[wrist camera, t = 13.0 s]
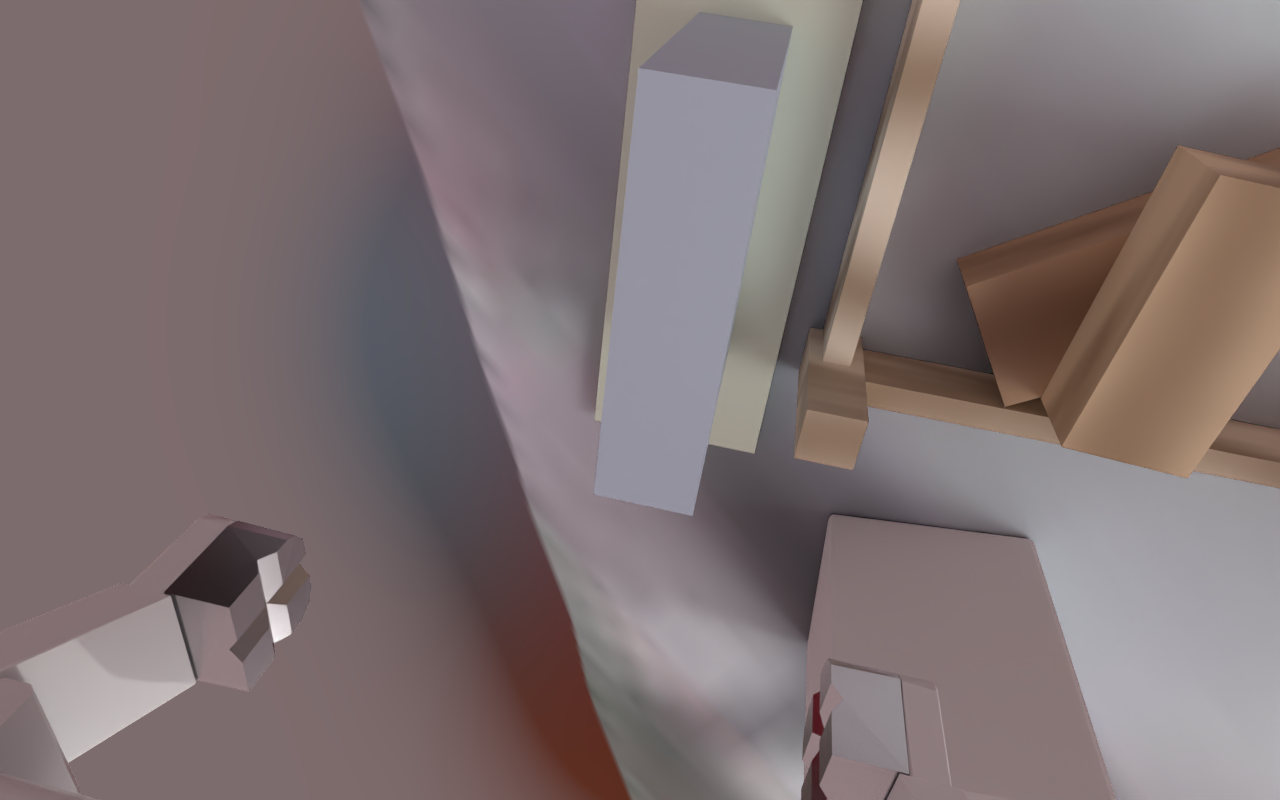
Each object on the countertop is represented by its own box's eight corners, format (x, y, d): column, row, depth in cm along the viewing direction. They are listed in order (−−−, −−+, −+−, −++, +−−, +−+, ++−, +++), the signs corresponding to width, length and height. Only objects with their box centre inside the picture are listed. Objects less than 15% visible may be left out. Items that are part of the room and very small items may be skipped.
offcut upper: (1319, 176, 23) (1379, 210, 21) (1155, 426, 28) (1187, 478, 26) (1178, 145, 23) (1220, 174, 21) (1040, 398, 28) (1061, 446, 26)
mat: (755, 445, 35) (754, 453, 34) (597, 412, 35) (594, 420, 35) (875, -58, 24) (876, -57, 24) (649, -90, 25) (645, -90, 24)
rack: (1354, 480, 30) (1459, 596, 25) (798, 371, 32) (794, 458, 27) (1959, -303, 18) (2397, -380, 13) (998, -396, 20) (1055, -493, 15)
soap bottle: (825, 510, 36) (824, 1001, 20) (1034, 537, 34) (1213, 1087, 18) (803, 643, 40) (788, 1128, 24) (987, 671, 39) (1098, 1204, 23)
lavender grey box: (793, 26, 25) (777, 90, 17) (727, 354, 32) (692, 515, 24) (699, 11, 26) (638, 67, 17) (653, 340, 32) (593, 494, 24)
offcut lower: (1332, 267, 27) (1384, 304, 25) (990, 366, 31) (1004, 406, 29) (1317, 127, 25) (1371, 152, 23) (954, 253, 29) (966, 286, 27)
